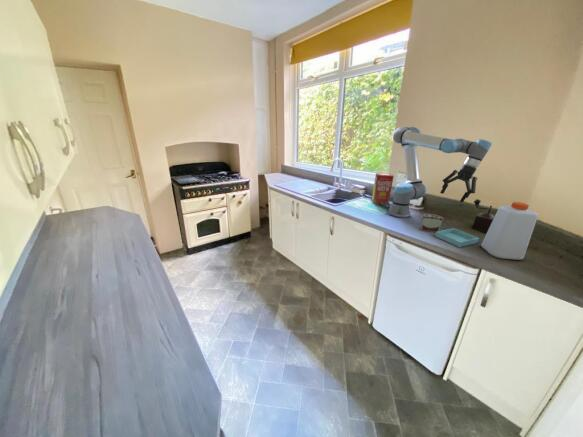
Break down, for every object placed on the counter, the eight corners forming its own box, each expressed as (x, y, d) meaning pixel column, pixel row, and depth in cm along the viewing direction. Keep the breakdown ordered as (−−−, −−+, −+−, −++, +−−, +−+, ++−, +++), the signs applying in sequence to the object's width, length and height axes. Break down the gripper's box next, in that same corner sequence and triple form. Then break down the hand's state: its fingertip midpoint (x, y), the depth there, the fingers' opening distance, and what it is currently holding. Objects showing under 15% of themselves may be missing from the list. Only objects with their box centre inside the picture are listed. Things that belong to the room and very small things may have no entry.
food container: (437, 229, 155) (441, 214, 151) (440, 232, 149) (444, 218, 146) (417, 226, 158) (420, 212, 155) (418, 229, 153) (422, 215, 149)
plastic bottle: (527, 262, 119) (551, 209, 108) (494, 258, 121) (514, 207, 110) (506, 247, 132) (526, 200, 122) (477, 245, 135) (494, 198, 124)
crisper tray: (434, 236, 144) (435, 231, 143) (452, 232, 151) (453, 228, 149) (459, 247, 132) (461, 242, 130) (477, 242, 138) (479, 238, 136)
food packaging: (372, 203, 204) (377, 174, 195) (371, 200, 213) (375, 172, 203) (388, 204, 202) (394, 175, 193) (386, 201, 211) (391, 173, 202)
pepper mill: (494, 229, 157) (504, 203, 150) (490, 233, 150) (500, 207, 143) (467, 222, 168) (475, 198, 161) (462, 226, 161) (470, 201, 154)
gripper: (495, 173, 136) (473, 206, 144) (454, 161, 155) (437, 190, 163) (489, 171, 132) (467, 205, 140) (448, 159, 151) (431, 189, 160)
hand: (451, 197), depth 152 cm, fingers open, 13 cm apart
